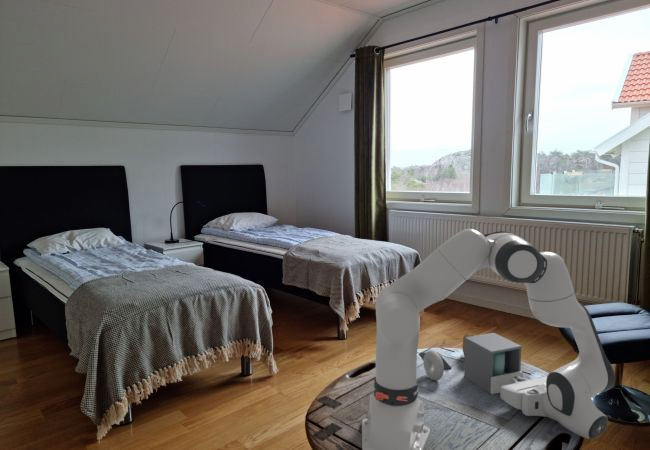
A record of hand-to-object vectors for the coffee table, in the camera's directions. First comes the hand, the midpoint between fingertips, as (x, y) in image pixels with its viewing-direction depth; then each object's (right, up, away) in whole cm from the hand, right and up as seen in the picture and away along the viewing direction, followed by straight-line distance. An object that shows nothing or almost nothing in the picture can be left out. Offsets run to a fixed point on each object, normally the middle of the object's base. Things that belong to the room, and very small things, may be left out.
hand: (513, 378), depth 144 cm
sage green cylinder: (-3, -3, +8) cm, 9 cm away
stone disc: (-5, -2, +27) cm, 27 cm away
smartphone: (-19, -3, +26) cm, 32 cm away
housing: (-3, -4, +10) cm, 11 cm away
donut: (-23, -4, +12) cm, 26 cm away
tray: (-3, -4, +8) cm, 10 cm away
